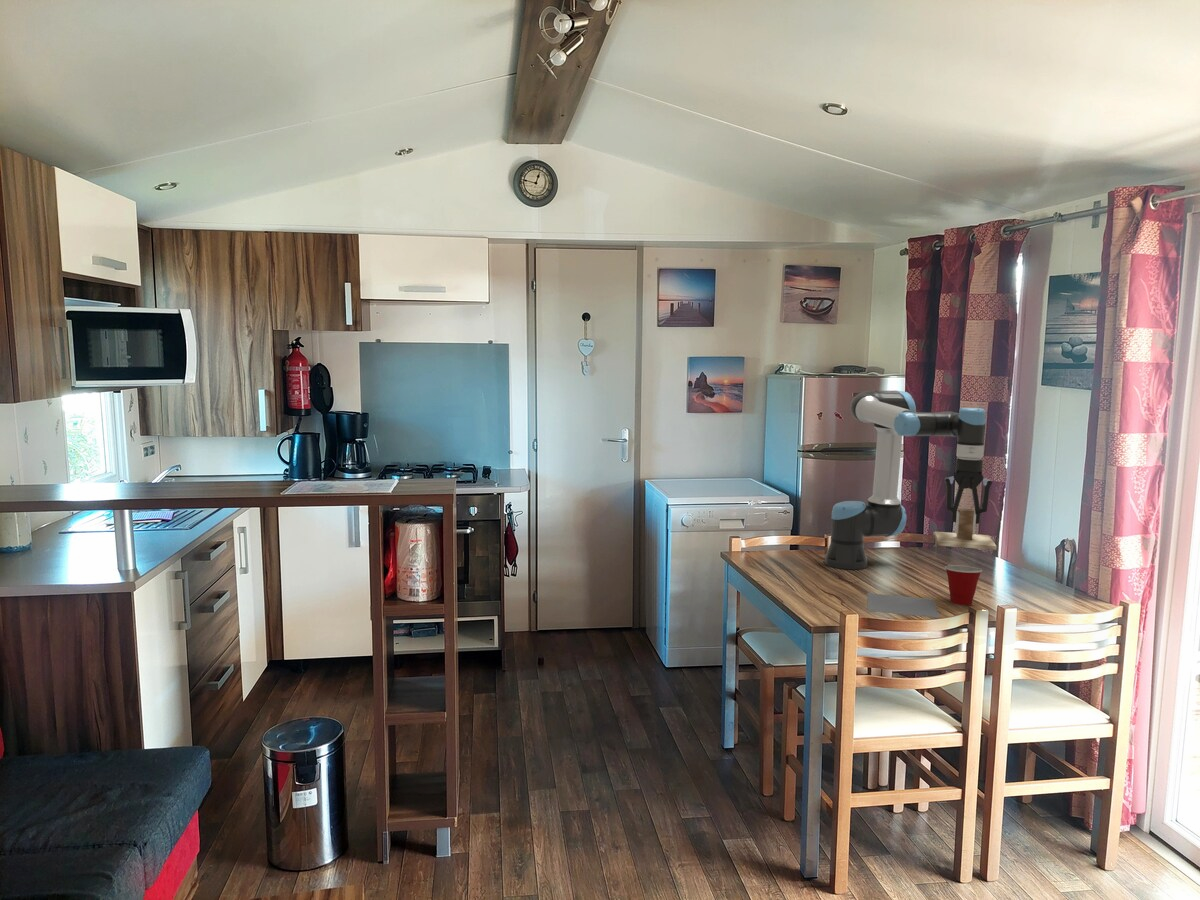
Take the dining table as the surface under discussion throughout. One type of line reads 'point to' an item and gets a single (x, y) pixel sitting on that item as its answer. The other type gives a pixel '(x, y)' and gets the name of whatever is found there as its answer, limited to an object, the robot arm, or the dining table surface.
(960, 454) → the robot arm
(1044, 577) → the dining table surface
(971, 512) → the lid
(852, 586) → the dining table surface
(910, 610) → the mat
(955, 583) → the plastic cup
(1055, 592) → the dining table surface
